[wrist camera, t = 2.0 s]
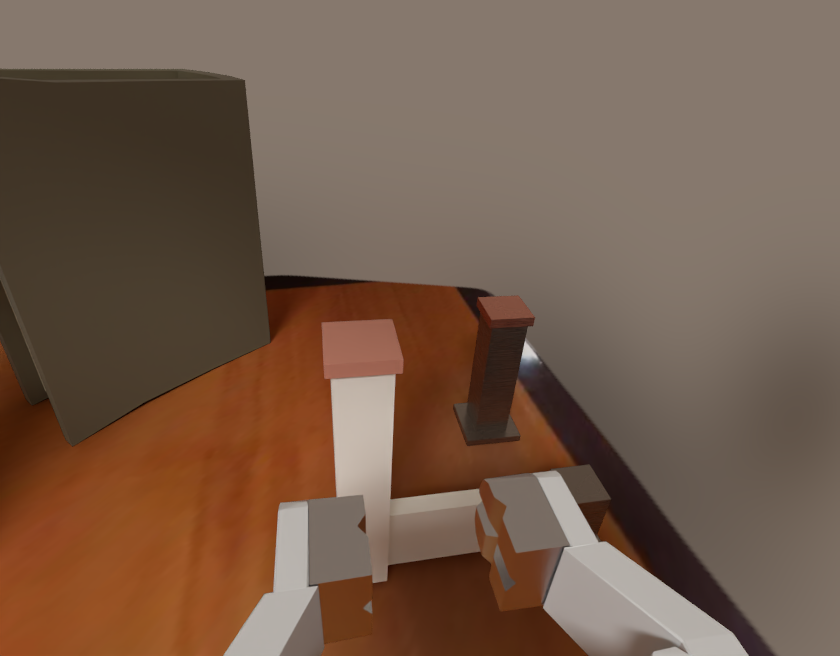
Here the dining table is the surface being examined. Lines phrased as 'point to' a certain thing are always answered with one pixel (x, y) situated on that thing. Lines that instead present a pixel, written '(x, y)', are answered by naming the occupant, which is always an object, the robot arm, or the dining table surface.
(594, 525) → the hinge post
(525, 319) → the post
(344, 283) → the dining table surface
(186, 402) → the dining table surface
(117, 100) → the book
